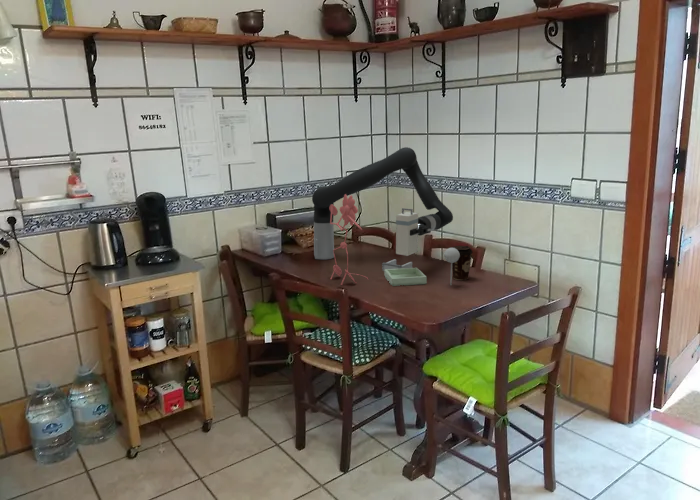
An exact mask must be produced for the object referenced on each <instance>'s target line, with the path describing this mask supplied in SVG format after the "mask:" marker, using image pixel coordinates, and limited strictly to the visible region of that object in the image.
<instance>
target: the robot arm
mask: <svg viewBox="0 0 700 500" xmlns="http://www.w3.org/2000/svg"><path fill="white" fill-rule="evenodd" d="M400 170H402V171H403V172H404V173H405V174H406V176H407V177H408V178H409V180H410V182H411V184H412V185H413V186H414V187H413V188H414V189H415V191H416V193H417V195H418V197H419V199H420V201H421V203H422V204H423V206H424V207H425V209H426V210H429V211H431V210H433V209H435V210H437V211H436V212H435V213H431V214H426V215H421V216H420V217H419V216H418V226H417V228H416V229H412V230H410V236H412V235H415V234H416V235H418V237H419V236H424V235H426V234H430V233H431V232H433V231H437V230H440V229H442V228H444V227H445V226H447V225H448V224H451V222H453V220H454V216H453V212H452V211H451V209H449V208H448V207H447V206H446V205H445V204H444V203H443V202H442V201H441V200H440V198H439V197H438V195H437V194H436V193H437V192H435V189H434V188H433V187H432V185H431V184H430V183H429V181H428V180H427V178H426V177H425V175H424V173H423V171H422V168H421V167H420V164H419V162H418V159H417V155H416V152H415V150H414V149H412V148H411V147H408V146H407V147H406V146H405V147H401V148H400V149H398V150H396V151H394V152H393V153H391V154H390V155H388V156H387V157H384V158H383V159H380V160H377V161H374V162H373V163H370V164H368V165H366V166H363V167H362V168H359V169H357V170H355V171H353V172H352V173H349V174H348V175H347V176H345V177H343V178H342V179H340V180H339V181H338V182H336V183H333V184H331V185H328V186H320V187H317V189H315V191H314V192H313V193H312V198H311V201H312V204H313V255H314V259H315V260H331V259H335V258H334V254H335V252H334V253H333V250H334V249H335V239H334V238H335V236H334V232H335V231H334V224H330V218H331V212H330V210H329V207H330V205H332V204H333V206H335V203H336V202H338V201H339V200H341V199H344V195H345V194H346V195H347V197H348V196H351V195H353V194H356V193H358V192H361V191H364V190H366V189H368V188H370V187H373V186H374V185H376V184H377V183H379V182H381V181H382V180H383V179H385V178H386V177H387V176H388V175H390V174H392V173H395V172H397V171H400ZM331 223H334V215H333V214H332V221H331ZM334 251H335V250H334Z"/></svg>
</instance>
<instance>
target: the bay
mask: <svg viewBox="0 0 700 500" xmlns="http://www.w3.org/2000/svg"><path fill="white" fill-rule="evenodd" d="M401 268H413V261H409V262H407V263H405V264H401V265H400V264H397V259H392V260H389V261H387V262H382V263H381V270H382V272H384V269H401Z"/></svg>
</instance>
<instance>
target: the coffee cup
mask: <svg viewBox="0 0 700 500" xmlns="http://www.w3.org/2000/svg"><path fill="white" fill-rule="evenodd" d="M452 248H455V249H457V250H458V251H459V253H460V257H459V259H458V260H457V261H456V262H454V263H452V280H453V279H454V280H456V281H466V280H469V275H470V269H471V262H472V254H473V253H474V252H473V250H472V249H471V247H470V246H468V245H455V246H453V247H452Z"/></svg>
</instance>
